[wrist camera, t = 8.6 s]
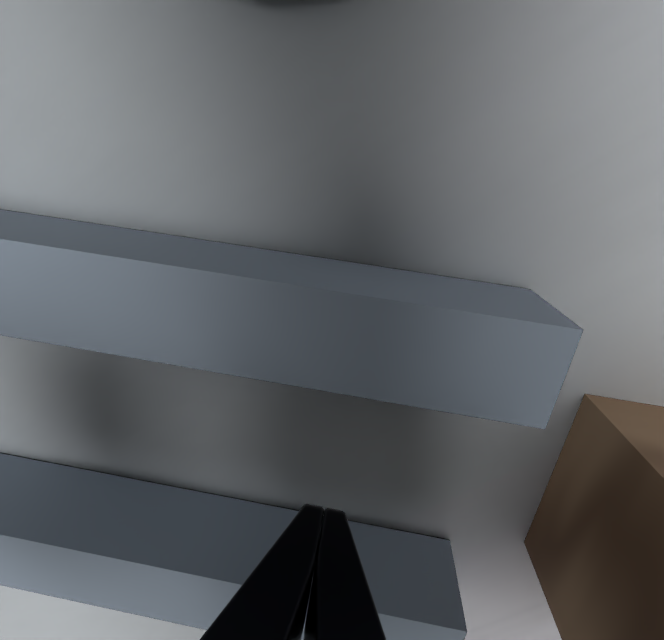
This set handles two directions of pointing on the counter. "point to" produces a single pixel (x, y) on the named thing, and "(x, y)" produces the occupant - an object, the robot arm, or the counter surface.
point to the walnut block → (605, 525)
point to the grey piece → (262, 364)
